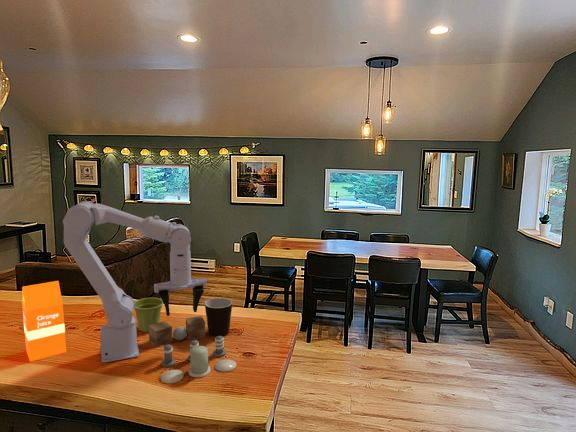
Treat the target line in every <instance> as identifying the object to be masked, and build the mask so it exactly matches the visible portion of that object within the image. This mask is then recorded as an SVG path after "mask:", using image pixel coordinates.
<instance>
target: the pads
mask: <svg viewBox="0 0 576 432" xmlns="http://www.w3.org/2000/svg"><path fill="white" fill-rule="evenodd" d="M214 368H215V370H216V371H218V372H222V373H227V372H232V371H233V370H235V369H236V368H237V362H236V361H234V360H233V359H230V358H229V359H221V360H219V361H217V362H216V363H215V366H214ZM210 373H211V367H210V365H208V371H207V372H205V373H203V374H193V373H192V372H191V367H190V368H189V369H188V375H189V376H190V377H192V378H198V379H199V378H204V377H207V376H208V375H209V374H210ZM183 378H184V372H183V371H182V370H180V369H170V370H169V369H168V370H166V371H164V372H163V373H162V374H160V377H159V379H160V381H161V382H162V383H164V384H175V383H177V382H179V381H181V380H183Z"/></svg>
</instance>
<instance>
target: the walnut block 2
mask: <svg viewBox="0 0 576 432" xmlns="http://www.w3.org/2000/svg"><path fill="white" fill-rule="evenodd" d="M185 329H186V332H187V334H186V337H187V338H188V340H189V341H191V340H197V339H202V338H206V321H205V319H204V318H203V316H202V315H199V316H193V317H185Z"/></svg>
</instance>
